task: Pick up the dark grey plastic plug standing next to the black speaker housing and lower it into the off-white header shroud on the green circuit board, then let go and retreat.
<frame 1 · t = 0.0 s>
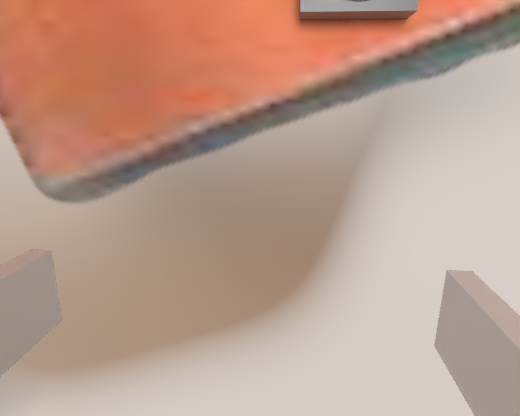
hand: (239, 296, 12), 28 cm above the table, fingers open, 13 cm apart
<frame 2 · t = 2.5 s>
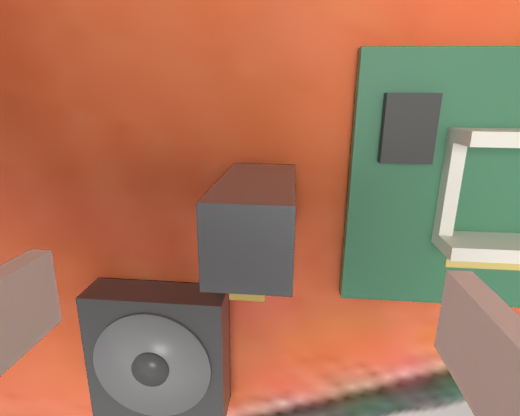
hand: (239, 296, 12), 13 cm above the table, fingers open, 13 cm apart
plug: (264, 193, 25), on the table
board: (492, 185, 23), on the table
speaker: (166, 338, 29), on the table
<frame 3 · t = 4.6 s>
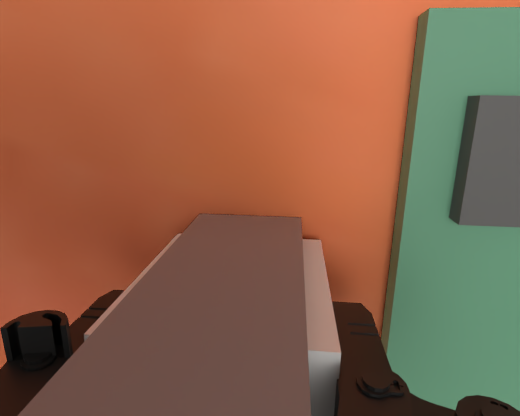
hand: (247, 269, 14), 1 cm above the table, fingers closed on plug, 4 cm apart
plug: (249, 262, 15), on the table, touching gripper
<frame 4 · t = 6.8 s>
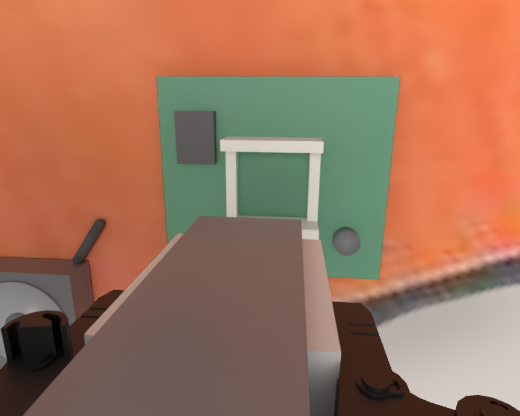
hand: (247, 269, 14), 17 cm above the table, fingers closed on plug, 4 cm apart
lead: (91, 240, 33), on the table
plug: (249, 264, 15), point 16 cm above the table, touching gripper
board: (273, 180, 30), on the table
speaker: (45, 305, 35), on the table
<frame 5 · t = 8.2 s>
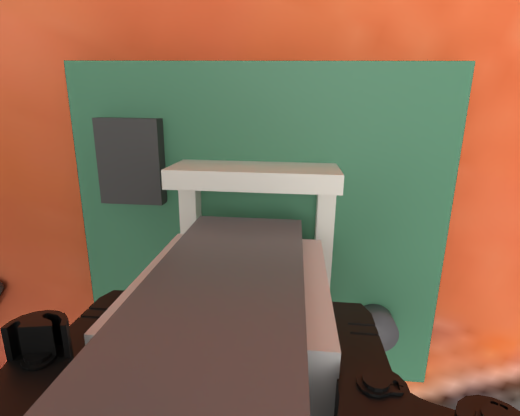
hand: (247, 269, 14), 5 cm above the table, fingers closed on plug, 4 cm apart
plug: (249, 264, 15), point 4 cm above the table, touching gripper
board: (259, 227, 19), on the table
when the fingers open (3 cm above the table, at t = 9.2 s): plug drops 1 cm, resting on board.
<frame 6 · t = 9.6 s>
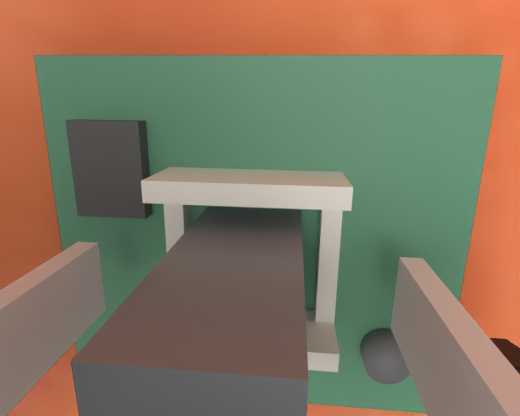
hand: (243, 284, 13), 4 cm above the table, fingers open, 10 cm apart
plug: (253, 251, 16), point 1 cm above the table, touching board
board: (256, 241, 17), on the table
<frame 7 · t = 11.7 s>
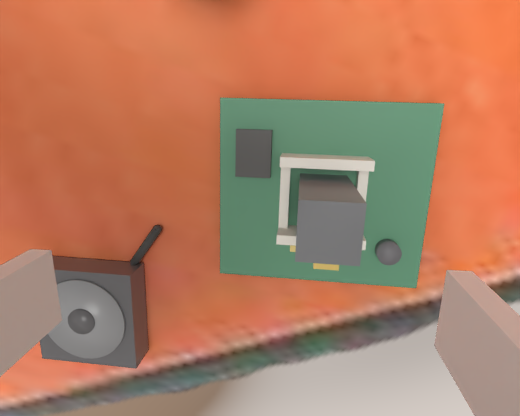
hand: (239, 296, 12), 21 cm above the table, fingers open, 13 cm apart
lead: (147, 244, 36), on the table
plug: (321, 197, 32), point 1 cm above the table, touching board
board: (321, 193, 33), on the table
speaker: (100, 303, 38), on the table
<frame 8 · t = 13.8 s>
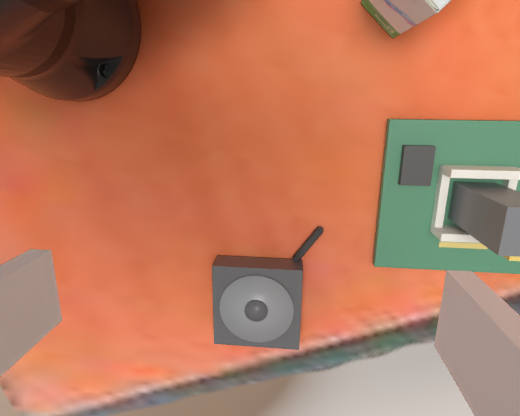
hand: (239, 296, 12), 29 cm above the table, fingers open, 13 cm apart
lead: (307, 243, 42), on the table
plug: (470, 200, 38), point 1 cm above the table, touching board
board: (466, 197, 39), on the table
speaker: (259, 295, 44), on the table
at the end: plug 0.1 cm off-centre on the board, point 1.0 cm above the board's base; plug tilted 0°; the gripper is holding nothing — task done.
